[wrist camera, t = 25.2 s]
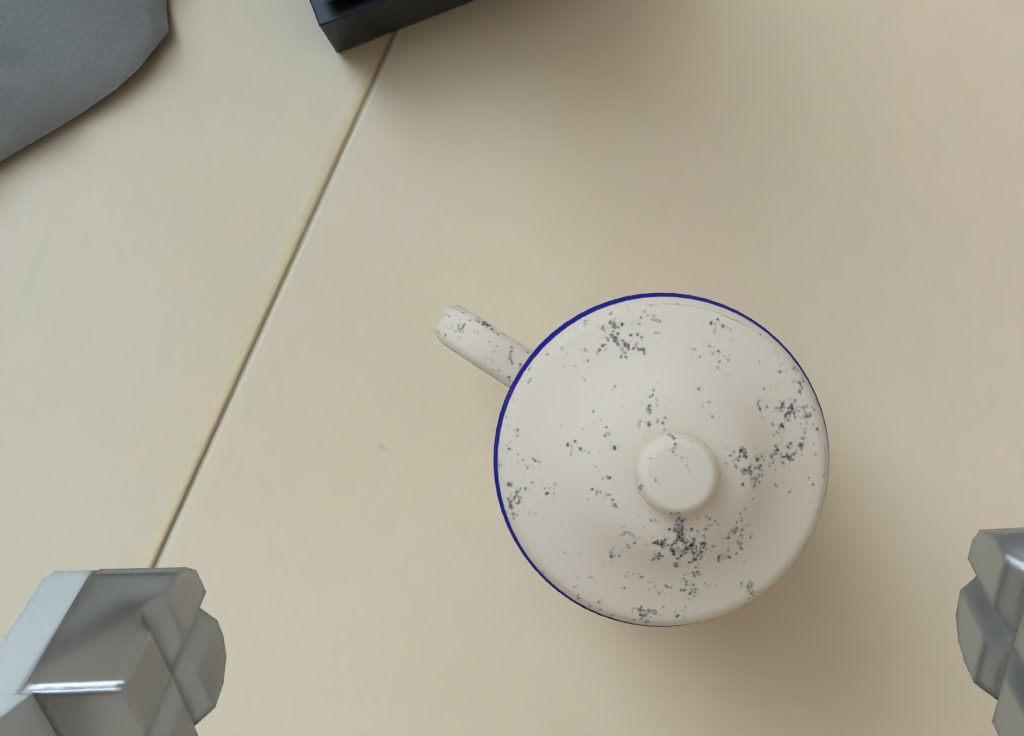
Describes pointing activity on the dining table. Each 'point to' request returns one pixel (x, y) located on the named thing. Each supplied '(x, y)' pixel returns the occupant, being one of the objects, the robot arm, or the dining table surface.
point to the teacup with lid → (653, 454)
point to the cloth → (67, 59)
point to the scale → (372, 17)
